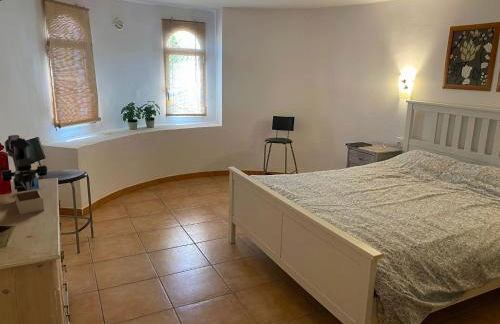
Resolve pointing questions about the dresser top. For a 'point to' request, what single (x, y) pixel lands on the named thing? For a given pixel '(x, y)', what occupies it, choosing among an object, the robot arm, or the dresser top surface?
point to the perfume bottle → (35, 184)
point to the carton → (29, 202)
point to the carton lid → (27, 188)
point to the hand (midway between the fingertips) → (28, 188)
